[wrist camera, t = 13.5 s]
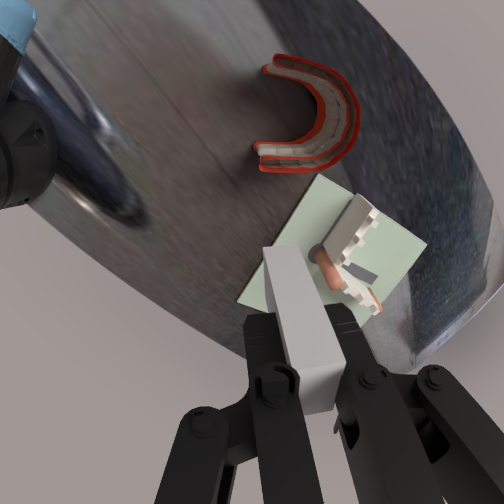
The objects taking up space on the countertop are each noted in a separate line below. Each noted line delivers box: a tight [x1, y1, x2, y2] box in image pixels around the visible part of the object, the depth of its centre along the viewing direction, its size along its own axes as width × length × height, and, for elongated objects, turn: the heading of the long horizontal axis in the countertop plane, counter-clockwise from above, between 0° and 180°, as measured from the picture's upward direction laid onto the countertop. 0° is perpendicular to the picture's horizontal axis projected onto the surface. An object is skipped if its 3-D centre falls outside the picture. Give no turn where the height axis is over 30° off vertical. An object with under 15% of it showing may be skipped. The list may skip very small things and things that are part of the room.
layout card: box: [237, 173, 427, 327], centre depth 47 cm, size 24×23×1 cm
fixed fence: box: [314, 193, 379, 291], centre depth 40 cm, size 2×12×8 cm, turn 151°
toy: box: [253, 53, 360, 173], centre depth 31 cm, size 12×10×8 cm
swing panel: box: [330, 258, 383, 315], centre depth 45 cm, size 11×2×6 cm, turn 50°
